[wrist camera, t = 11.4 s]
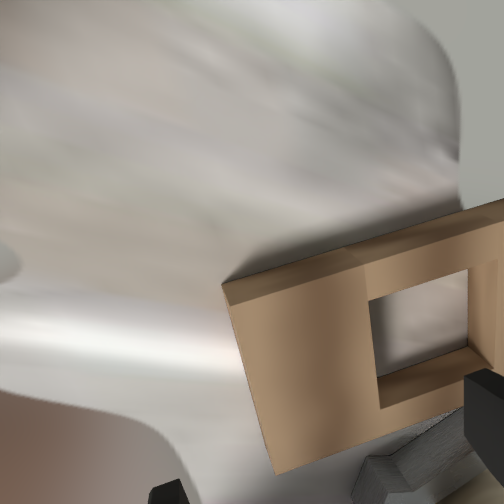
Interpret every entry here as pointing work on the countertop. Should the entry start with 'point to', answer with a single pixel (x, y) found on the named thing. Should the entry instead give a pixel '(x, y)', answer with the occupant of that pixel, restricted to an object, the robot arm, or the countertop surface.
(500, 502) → the birch axle
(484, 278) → the wooden board with cutouts
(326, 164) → the countertop surface
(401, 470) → the steel V-block
